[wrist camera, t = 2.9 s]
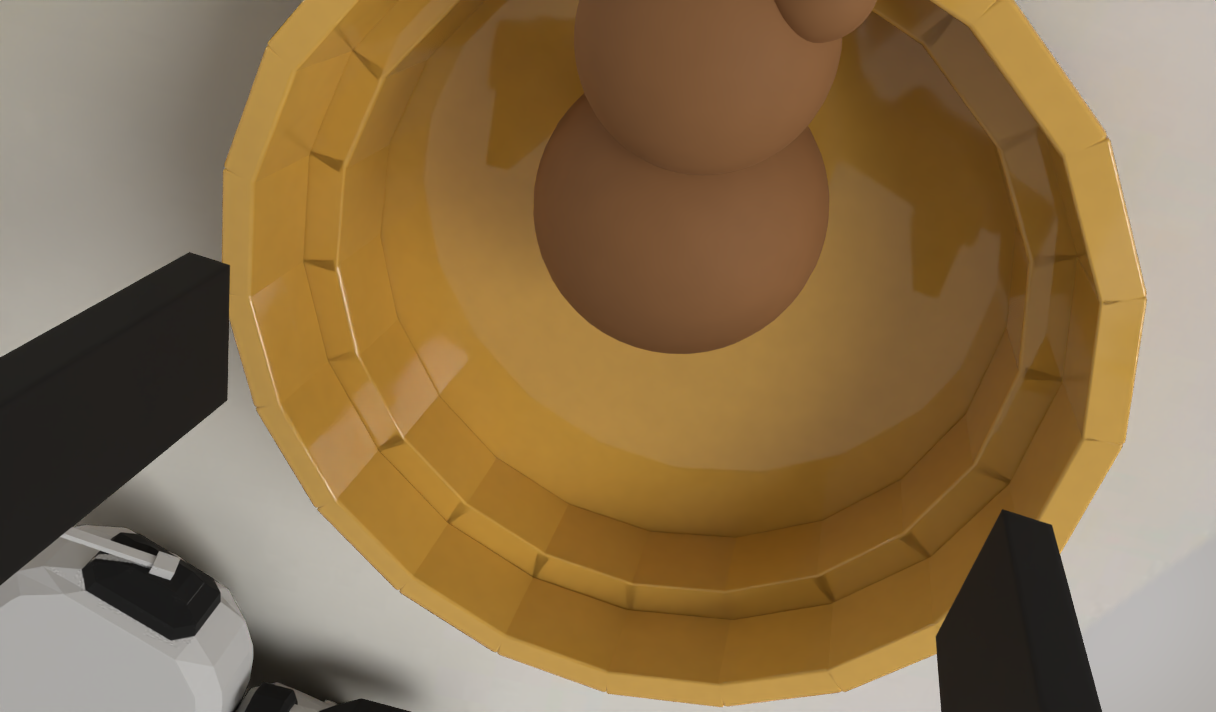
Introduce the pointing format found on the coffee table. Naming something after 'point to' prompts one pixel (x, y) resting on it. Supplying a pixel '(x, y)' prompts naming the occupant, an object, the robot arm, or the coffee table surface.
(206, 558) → the coffee table surface
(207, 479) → the coffee table surface
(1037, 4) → the coffee table surface
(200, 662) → the robot toy
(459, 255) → the ochre bowl
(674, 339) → the plush bear
